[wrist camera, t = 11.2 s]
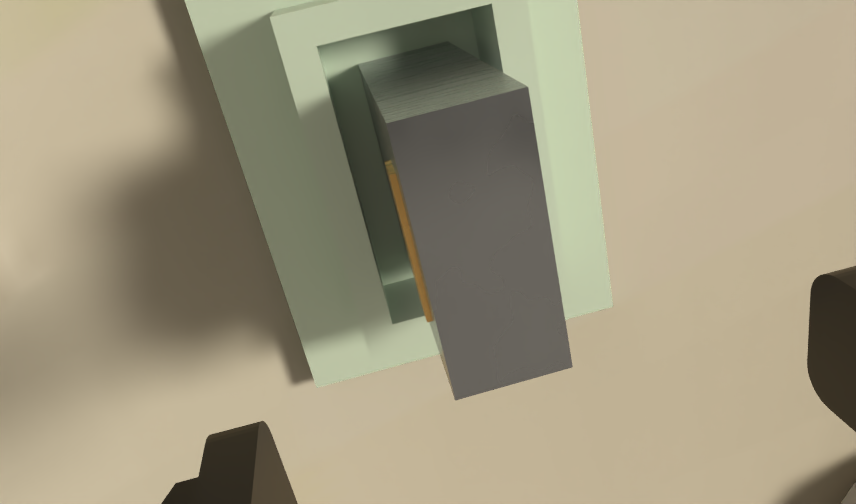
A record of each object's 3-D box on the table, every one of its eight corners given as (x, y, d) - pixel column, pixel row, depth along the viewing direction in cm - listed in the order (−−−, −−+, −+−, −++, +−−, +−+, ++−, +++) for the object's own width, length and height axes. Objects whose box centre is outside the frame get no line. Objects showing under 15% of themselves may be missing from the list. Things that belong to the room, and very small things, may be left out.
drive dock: (170, -58, 21) (141, -63, 17) (549, -146, 22) (597, -168, 18) (316, 373, 27) (317, 436, 24) (603, 295, 28) (647, 344, 24)
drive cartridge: (353, 65, 22) (378, 125, 14) (447, 41, 22) (528, 87, 14) (403, 258, 25) (448, 402, 17) (486, 235, 25) (572, 367, 17)
